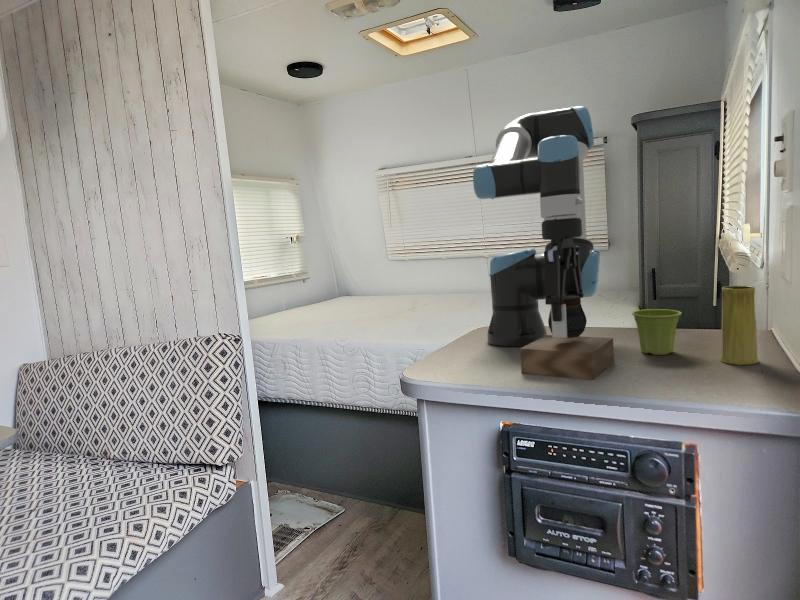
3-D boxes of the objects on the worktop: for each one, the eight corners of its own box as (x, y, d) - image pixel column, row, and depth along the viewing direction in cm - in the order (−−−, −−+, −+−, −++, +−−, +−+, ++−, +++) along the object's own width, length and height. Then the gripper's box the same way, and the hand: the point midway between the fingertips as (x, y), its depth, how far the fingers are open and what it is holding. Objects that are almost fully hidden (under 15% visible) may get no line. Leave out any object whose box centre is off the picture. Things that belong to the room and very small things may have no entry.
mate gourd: (556, 341, 101) (553, 290, 100) (543, 335, 108) (540, 287, 107) (593, 337, 101) (590, 286, 100) (577, 331, 108) (574, 284, 108)
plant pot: (671, 346, 116) (670, 307, 115) (690, 355, 106) (689, 313, 105) (627, 348, 117) (626, 310, 116) (642, 358, 107) (641, 317, 106)
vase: (729, 366, 97) (728, 290, 95) (714, 358, 103) (713, 286, 101) (765, 364, 96) (764, 287, 94) (748, 357, 102) (747, 284, 100)
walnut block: (521, 373, 104) (520, 348, 103) (547, 357, 115) (546, 335, 114) (593, 379, 95) (592, 352, 95) (614, 361, 106) (613, 337, 106)
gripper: (562, 217, 92) (568, 344, 94) (596, 215, 108) (600, 325, 110) (522, 221, 96) (529, 342, 99) (560, 219, 112) (565, 324, 115)
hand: (566, 333), depth 104 cm, fingers closed on mate gourd, 7 cm apart
